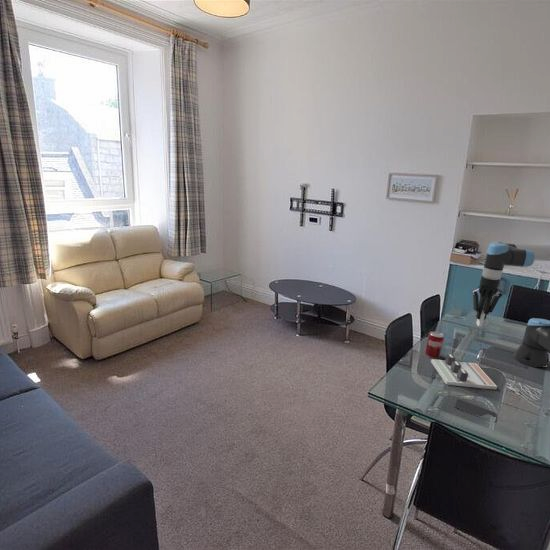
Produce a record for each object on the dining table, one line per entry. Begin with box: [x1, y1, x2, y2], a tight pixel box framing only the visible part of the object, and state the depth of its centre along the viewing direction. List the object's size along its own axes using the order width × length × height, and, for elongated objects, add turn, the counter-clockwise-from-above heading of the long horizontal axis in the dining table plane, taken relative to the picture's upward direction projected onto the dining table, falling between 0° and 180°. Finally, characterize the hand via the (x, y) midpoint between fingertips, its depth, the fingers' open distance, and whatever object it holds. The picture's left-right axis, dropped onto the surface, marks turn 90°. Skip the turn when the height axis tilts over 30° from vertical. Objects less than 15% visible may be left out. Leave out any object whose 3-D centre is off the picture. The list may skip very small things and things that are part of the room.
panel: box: [430, 358, 498, 390], centre depth 174 cm, size 22×20×2 cm
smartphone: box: [453, 398, 498, 418], centre depth 148 cm, size 7×1×15 cm
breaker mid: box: [451, 361, 461, 373], centre depth 174 cm, size 3×3×4 cm
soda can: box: [424, 331, 445, 360], centre depth 189 cm, size 7×7×12 cm
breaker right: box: [457, 369, 468, 381], centre depth 167 cm, size 3×3×4 cm
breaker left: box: [445, 353, 456, 365], centre depth 180 cm, size 3×3×4 cm
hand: (479, 325), depth 173 cm, fingers closed
